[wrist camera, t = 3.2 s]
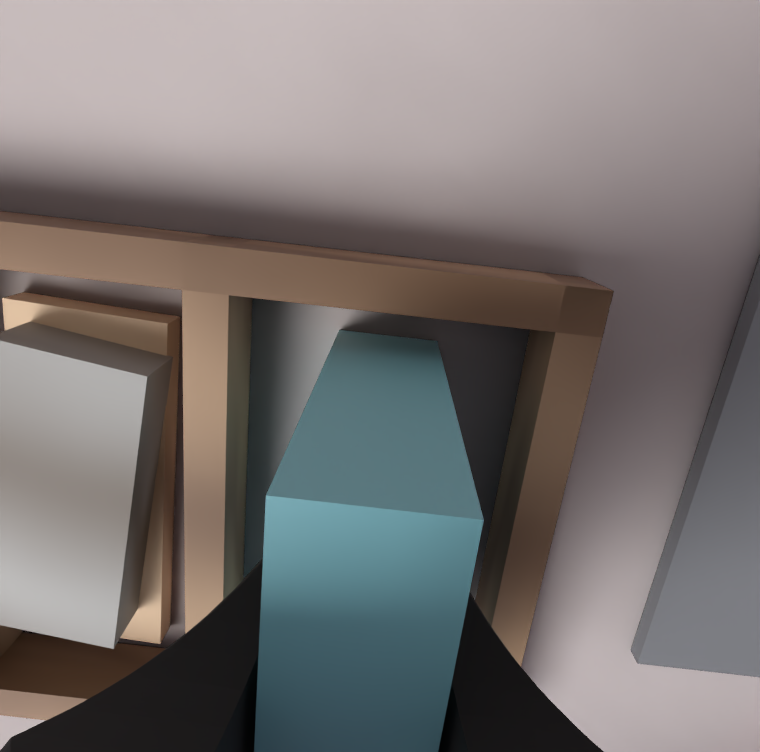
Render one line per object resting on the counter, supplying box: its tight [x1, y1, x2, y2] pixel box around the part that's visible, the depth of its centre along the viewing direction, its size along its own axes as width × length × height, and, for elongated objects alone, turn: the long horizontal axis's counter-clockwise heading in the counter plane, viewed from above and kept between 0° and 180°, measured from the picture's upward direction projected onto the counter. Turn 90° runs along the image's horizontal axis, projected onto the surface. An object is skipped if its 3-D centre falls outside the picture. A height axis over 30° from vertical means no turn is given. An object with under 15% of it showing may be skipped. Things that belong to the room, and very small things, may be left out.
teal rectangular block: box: [254, 330, 484, 752], centre depth 12 cm, size 10×2×8 cm, turn 174°
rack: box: [0, 211, 614, 720], centre depth 14 cm, size 14×16×2 cm
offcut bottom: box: [2, 292, 180, 644], centre depth 15 cm, size 10×4×2 cm, turn 171°
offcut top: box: [0, 321, 173, 649], centre depth 14 cm, size 8×4×2 cm, turn 165°
